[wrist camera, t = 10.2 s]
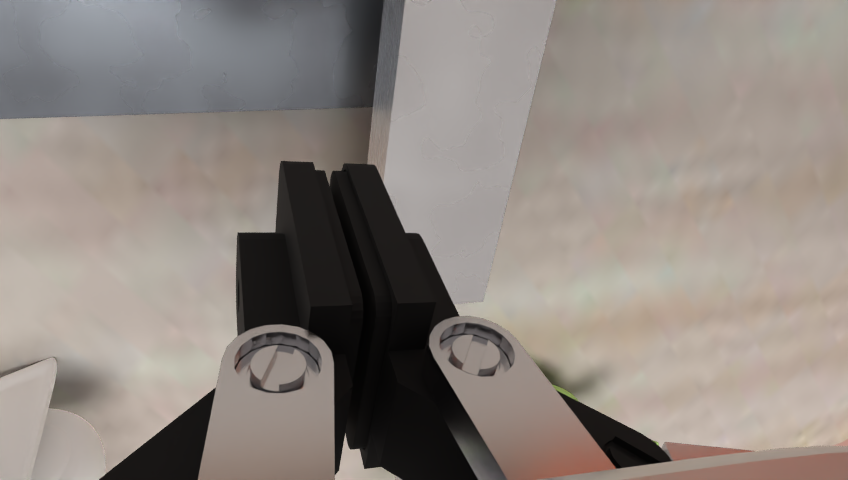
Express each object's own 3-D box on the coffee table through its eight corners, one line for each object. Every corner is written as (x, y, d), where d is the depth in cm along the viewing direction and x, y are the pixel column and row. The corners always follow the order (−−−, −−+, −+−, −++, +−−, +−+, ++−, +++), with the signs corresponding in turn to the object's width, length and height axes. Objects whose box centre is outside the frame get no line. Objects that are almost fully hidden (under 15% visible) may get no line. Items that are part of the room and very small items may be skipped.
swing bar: (436, -533, 13) (476, -583, 11) (620, -463, 14) (680, -499, 13) (354, 277, 24) (368, 314, 22) (463, 269, 25) (484, 303, 24)
